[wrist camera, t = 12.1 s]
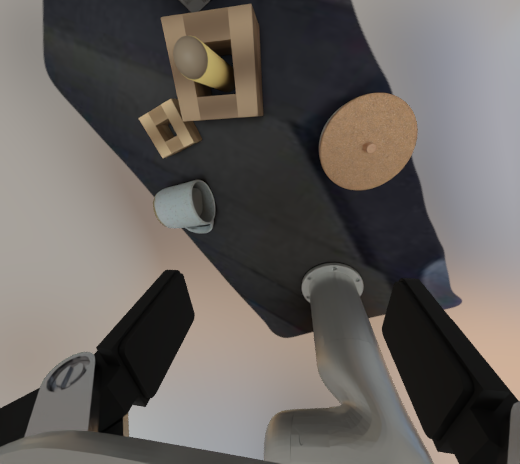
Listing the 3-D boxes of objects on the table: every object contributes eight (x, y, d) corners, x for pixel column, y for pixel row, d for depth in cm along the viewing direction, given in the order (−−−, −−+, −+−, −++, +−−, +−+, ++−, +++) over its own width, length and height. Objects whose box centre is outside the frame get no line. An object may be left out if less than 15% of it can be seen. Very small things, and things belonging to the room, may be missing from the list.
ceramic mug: (165, 184, 39) (140, 200, 32) (204, 173, 37) (186, 187, 30) (190, 232, 44) (172, 254, 37) (225, 225, 42) (213, 247, 35)
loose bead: (202, 139, 34) (193, 142, 31) (173, 154, 36) (162, 158, 33) (182, 100, 32) (170, 98, 28) (152, 118, 33) (138, 118, 30)
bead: (263, 115, 31) (257, 116, 26) (199, 120, 33) (182, 121, 27) (259, 25, 26) (251, 3, 21) (184, 35, 28) (160, 17, 23)
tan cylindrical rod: (236, 63, 29) (197, 26, 17) (238, 91, 30) (205, 75, 18) (213, 65, 29) (161, 31, 17) (217, 93, 31) (171, 79, 19)
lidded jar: (350, 188, 35) (368, 210, 27) (299, 149, 33) (302, 160, 25) (406, 129, 30) (450, 134, 22) (350, 79, 28) (375, 64, 20)
